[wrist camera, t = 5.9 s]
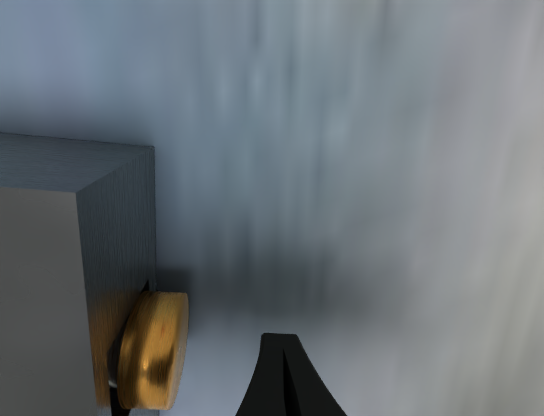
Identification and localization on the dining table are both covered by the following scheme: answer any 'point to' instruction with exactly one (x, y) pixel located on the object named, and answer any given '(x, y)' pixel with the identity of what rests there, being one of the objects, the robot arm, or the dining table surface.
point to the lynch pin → (150, 351)
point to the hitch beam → (70, 269)
